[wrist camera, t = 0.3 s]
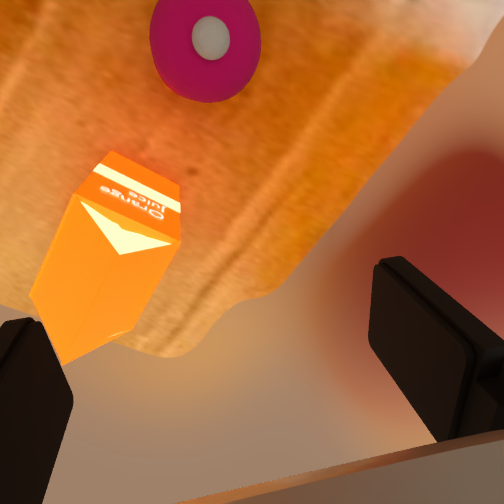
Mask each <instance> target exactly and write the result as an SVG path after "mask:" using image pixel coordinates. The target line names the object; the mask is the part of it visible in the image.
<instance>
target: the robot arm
mask: <svg viewBox="0 0 504 504" xmlns="http://www.w3.org/2000/svg"><path fill="white" fill-rule="evenodd" d="M368 339H369V343H370V346H371V348H372V349H373V351H374V352H375V353H376V355H377V357H378V358H379V359H380V361H381V362H382V364H383V365H384V367H385V368H386V370H387V371H388V372H389V374H390V375H391V377H392V378H393V380H394V381H395V382H396V384H397V385H398V387H399V388H400V390H401V391H402V392H403V394H404V395H405V397H406V398H407V400H408V401H409V403H410V404H411V405H412V407H413V408H414V410H415V411H416V413H417V414H418V415H419V417H420V418H421V419H422V421H423V423H424V424H425V425H426V427H427V428H428V430H429V431H430V433H431V434H432V435H433V437H434V438H435V440H436V441H437V442H438V443H433V444H429V445H424V446H419V447H415V448H410V449H406V450H402V451H397V452H393V453H389V454H384V455H380V456H376V457H371V458H367V459H363V460H358V461H354V462H350V463H346V464H341V465H336V466H332V467H328V468H323V469H319V470H315V471H310V472H306V473H302V474H298V475H293V476H289V477H285V478H281V479H276V480H272V481H268V482H264V483H259V484H255V485H251V486H247V487H242V488H238V489H234V490H230V491H226V492H221V493H217V494H213V495H209V496H205V497H200V498H196V499H192V500H188V501H183V502H179V503H175V504H504V340H503V339H502V338H500V337H499V336H498V335H497V334H496V333H494V332H493V331H492V330H491V329H489V328H488V327H487V326H486V325H485V324H483V323H482V322H481V321H480V320H479V319H478V318H476V317H475V316H474V315H472V314H471V313H470V312H469V311H468V310H467V309H465V308H464V307H463V306H462V305H461V304H459V303H458V302H457V301H456V300H454V299H453V298H452V297H451V296H450V295H448V294H447V293H446V292H445V291H444V290H442V289H441V288H440V287H438V285H436V284H435V283H434V282H433V281H431V280H430V279H429V278H428V277H427V276H425V275H424V274H423V273H422V272H420V271H419V270H418V269H417V268H416V267H414V266H413V265H412V264H411V263H410V262H408V261H407V260H406V259H405V258H404V257H402V256H395V257H389V258H383V259H381V260H380V261H379V264H377V265H375V267H374V270H373V282H372V295H371V307H370V320H369V331H368ZM72 407H73V394H72V391H71V389H70V386H69V384H68V382H67V380H66V377H65V375H64V372H63V370H62V368H61V366H60V363H59V361H58V359H57V357H56V354H55V352H54V350H53V347H52V345H51V343H50V340H49V338H48V336H47V333H46V331H45V329H44V326H43V325H42V323H41V322H39V321H37V322H35V320H33V318H31V317H27V318H21V319H16V320H9V321H5V322H4V323H3V324H2V326H1V327H0V504H42V502H43V499H44V496H45V493H46V489H47V486H48V483H49V480H50V476H51V474H52V471H53V467H54V464H55V461H56V458H57V455H58V451H59V449H60V445H61V442H62V439H63V436H64V433H65V430H66V426H67V423H68V420H69V417H70V414H71V411H72Z"/></svg>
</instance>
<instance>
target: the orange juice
mask: <svg viewBox="0 0 504 504" xmlns="http://www.w3.org/2000/svg"><path fill="white" fill-rule="evenodd" d="M179 242H180V186H179V185H178V184H176V183H174V182H172V181H170V180H168V179H166V178H164V177H162V176H160V175H158V174H156V173H154V172H152V171H150V170H148V169H147V168H145V167H143V166H141V165H139V164H137V163H135V162H133V161H131V160H129V159H127V158H125V157H123V156H121V155H119V154H117V153H116V152H114V151H112V150H111V151H110V152H109V154H108V155H107V156H106V157H105V158H104V159H103V160H102V162H101V163H99V164H98V165H97V167H96V168H95V169H94V170H93V172H92V173H91V174H90V176H89V177H88V178H87V179H86V180H85V181H84V183H83V184H82V185H81V186H80V187H79V188H78V189H77V191H76V192H75V193H73V195H72V197H71V200H70V202H69V204H68V206H67V209H66V211H65V213H64V216H63V218H62V220H61V223H60V225H59V227H58V229H57V232H56V234H55V236H54V239H53V241H52V243H51V245H50V248H49V250H48V252H47V255H46V257H45V259H44V262H43V264H42V266H41V268H40V271H39V273H38V275H37V278H36V280H35V282H34V285H33V287H32V289H31V291H30V296H29V297H31V298H32V300H33V302H34V304H35V307H36V309H37V311H38V313H39V315H40V317H41V319H42V321H43V323H44V325H45V328H46V330H47V332H48V334H49V336H50V338H51V340H52V342H53V344H54V346H55V349H56V350H57V353H58V355H59V357H60V359H61V361H62V365H64V364H66V363H68V362H70V361H72V360H74V359H76V358H78V357H80V356H82V355H83V354H86V353H87V352H89V351H91V350H93V349H95V348H97V347H99V346H101V345H103V344H105V343H107V342H109V341H111V340H113V339H115V338H117V337H119V336H121V335H123V334H124V333H126V332H128V331H130V330H132V329H133V327H134V325H135V323H136V322H137V320H138V318H139V316H140V315H141V313H142V311H143V309H144V308H145V306H146V304H147V302H148V300H149V299H150V297H151V295H152V293H153V292H154V290H155V288H156V286H157V285H158V283H159V281H160V279H161V277H162V276H163V274H164V272H165V270H166V269H167V267H168V265H169V263H170V262H171V260H172V258H173V256H174V254H175V253H176V251H177V249H178V247H179V246H180V244H181V242H180V243H179ZM62 365H61V366H62Z"/></svg>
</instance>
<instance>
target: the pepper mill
mask: <svg viewBox="0 0 504 504" xmlns="http://www.w3.org/2000/svg"><path fill="white" fill-rule="evenodd" d="M150 46H151V51H152V55H153V59H154V63H155V66H156V69H157V71H158V73H159V75H160V77H161V78H162V80H163V81H164V82H165V83H166V85H167V86H168V87H169V88H170V89H171V90H173V91H174V92H175V93H177V94H178V95H181V96H183V97H185V98H188V99H191V100H195V101H199V102H204V103H212V102H219V101H223V100H226V99H229V98H230V97H232V96H234V95H236V94H237V93H238V92H239V91H240V90H242V89H243V88H244V87H245V85H246V84H247V83H248V82H249V81H250V79H251V77H252V76H253V74H254V72H255V70H256V67H257V64H258V62H259V57H260V52H261V36H260V28H259V24H258V20H257V18H256V15H255V12H254V10H253V9H252V7H251V5H250V3H249V1H248V0H159V1H158V3H157V5H156V7H155V9H154V12H153V15H152V19H151V23H150Z"/></svg>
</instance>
